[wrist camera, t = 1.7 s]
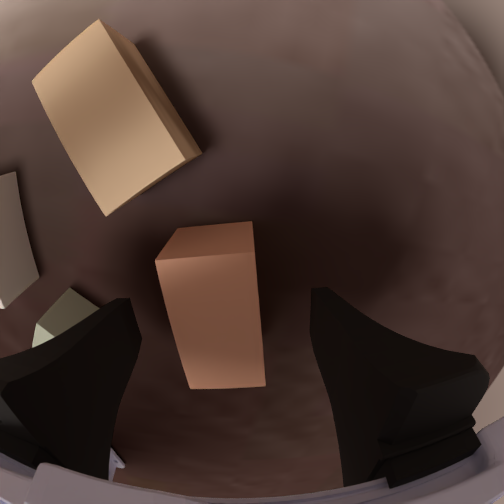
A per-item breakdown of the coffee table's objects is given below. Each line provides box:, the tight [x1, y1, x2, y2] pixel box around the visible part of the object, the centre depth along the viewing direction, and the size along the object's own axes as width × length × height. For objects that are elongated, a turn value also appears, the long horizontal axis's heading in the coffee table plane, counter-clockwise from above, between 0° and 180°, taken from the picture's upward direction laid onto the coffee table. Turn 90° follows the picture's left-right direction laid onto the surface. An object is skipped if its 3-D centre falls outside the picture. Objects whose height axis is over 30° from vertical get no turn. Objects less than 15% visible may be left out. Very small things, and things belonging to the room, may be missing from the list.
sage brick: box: [32, 288, 100, 348], centre depth 13 cm, size 6×3×4 cm, turn 144°
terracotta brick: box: [155, 221, 266, 389], centre depth 12 cm, size 6×3×4 cm, turn 5°
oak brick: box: [32, 19, 203, 216], centre depth 9 cm, size 6×3×4 cm, turn 30°
